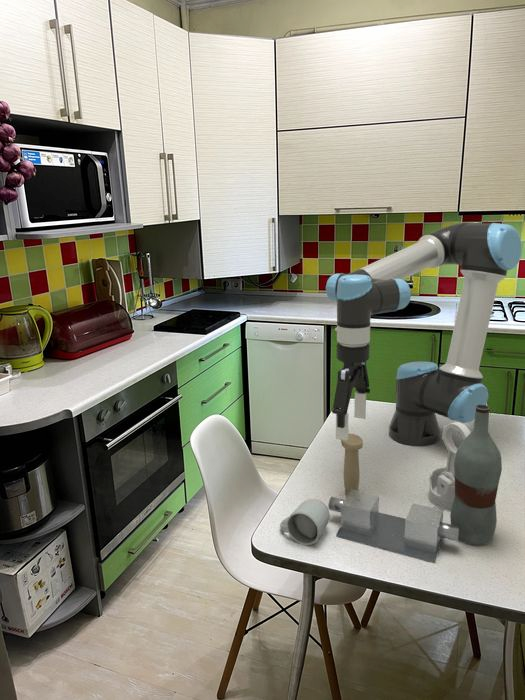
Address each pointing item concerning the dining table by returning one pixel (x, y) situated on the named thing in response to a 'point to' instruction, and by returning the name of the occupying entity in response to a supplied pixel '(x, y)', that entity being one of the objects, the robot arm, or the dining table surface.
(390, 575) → the dining table surface
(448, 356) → the robot arm
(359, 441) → the handle
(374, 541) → the shaft bed
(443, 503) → the engine component
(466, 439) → the bottle
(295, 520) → the ceramic mug
